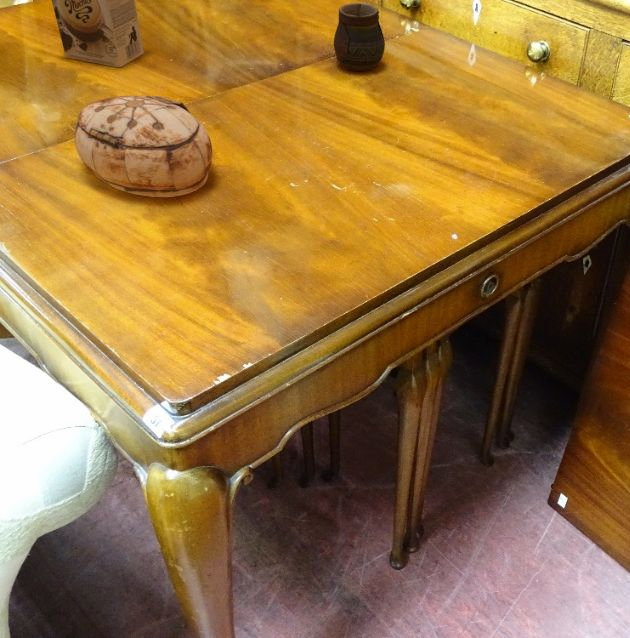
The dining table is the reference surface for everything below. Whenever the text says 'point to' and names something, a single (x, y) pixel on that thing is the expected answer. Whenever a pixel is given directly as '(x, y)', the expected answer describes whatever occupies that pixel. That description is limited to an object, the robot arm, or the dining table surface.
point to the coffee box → (99, 30)
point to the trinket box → (144, 145)
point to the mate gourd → (359, 37)
